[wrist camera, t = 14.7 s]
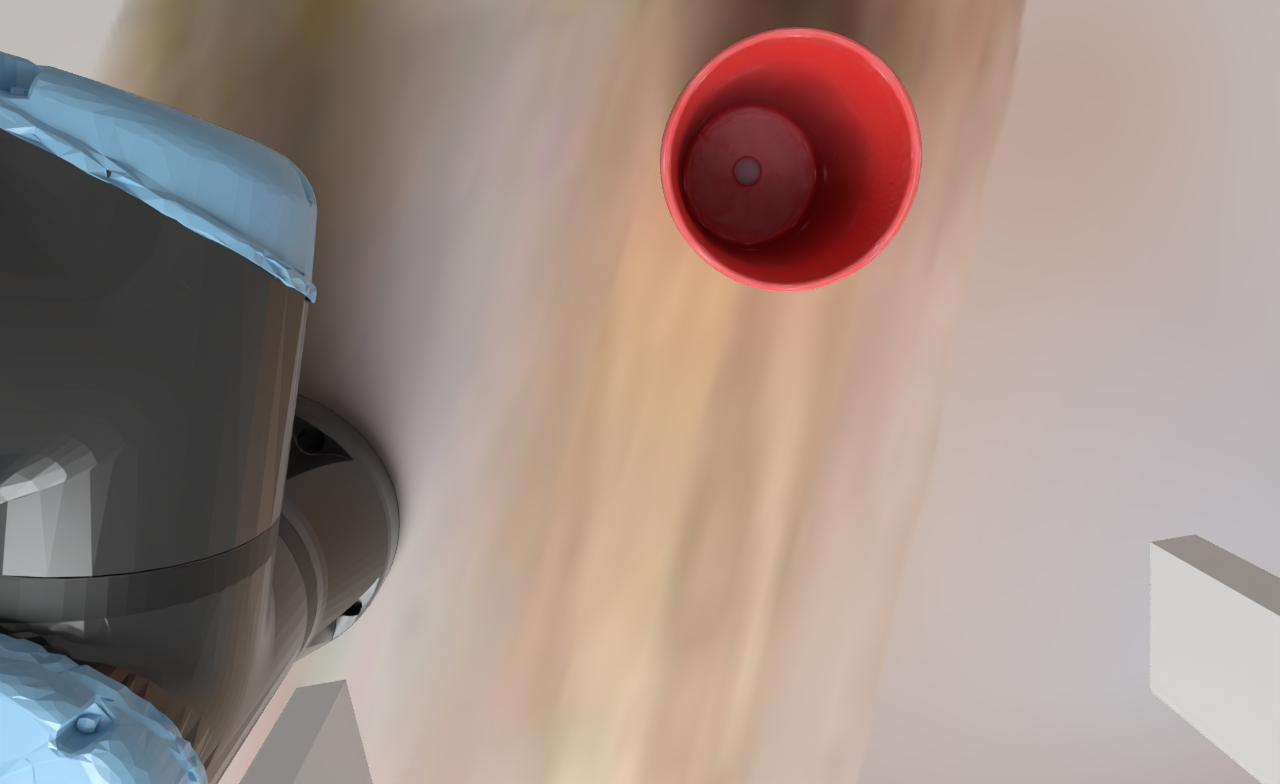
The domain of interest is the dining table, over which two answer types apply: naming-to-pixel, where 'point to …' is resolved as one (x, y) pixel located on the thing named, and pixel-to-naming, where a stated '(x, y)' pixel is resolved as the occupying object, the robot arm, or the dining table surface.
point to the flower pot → (791, 159)
